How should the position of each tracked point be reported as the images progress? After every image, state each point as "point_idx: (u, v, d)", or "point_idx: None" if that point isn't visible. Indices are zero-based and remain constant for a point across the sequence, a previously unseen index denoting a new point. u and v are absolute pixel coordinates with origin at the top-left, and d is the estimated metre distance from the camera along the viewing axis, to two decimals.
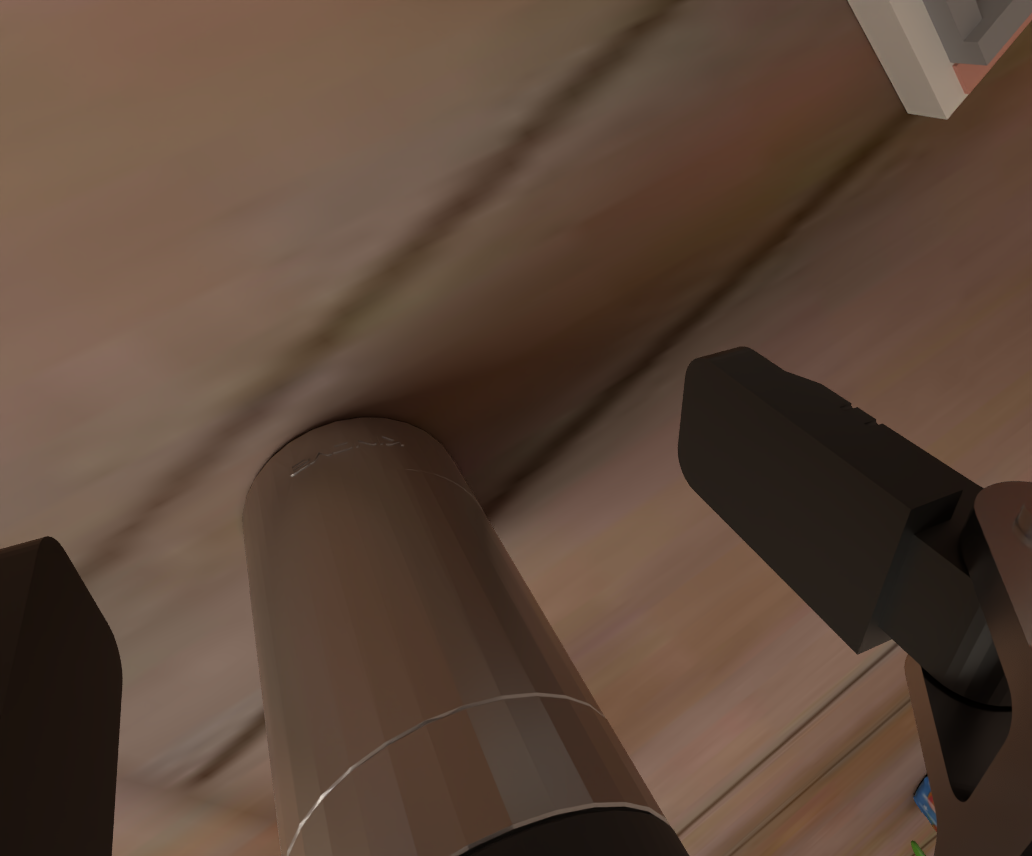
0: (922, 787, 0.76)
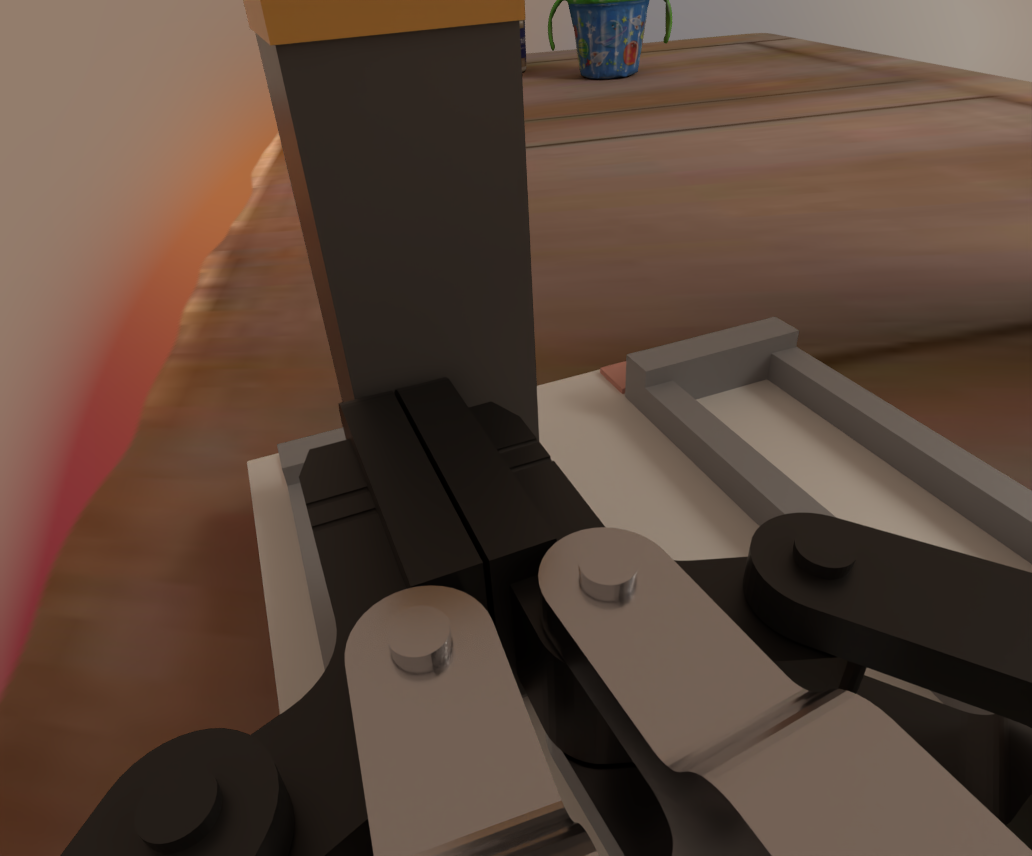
0: (631, 72, 0.89)
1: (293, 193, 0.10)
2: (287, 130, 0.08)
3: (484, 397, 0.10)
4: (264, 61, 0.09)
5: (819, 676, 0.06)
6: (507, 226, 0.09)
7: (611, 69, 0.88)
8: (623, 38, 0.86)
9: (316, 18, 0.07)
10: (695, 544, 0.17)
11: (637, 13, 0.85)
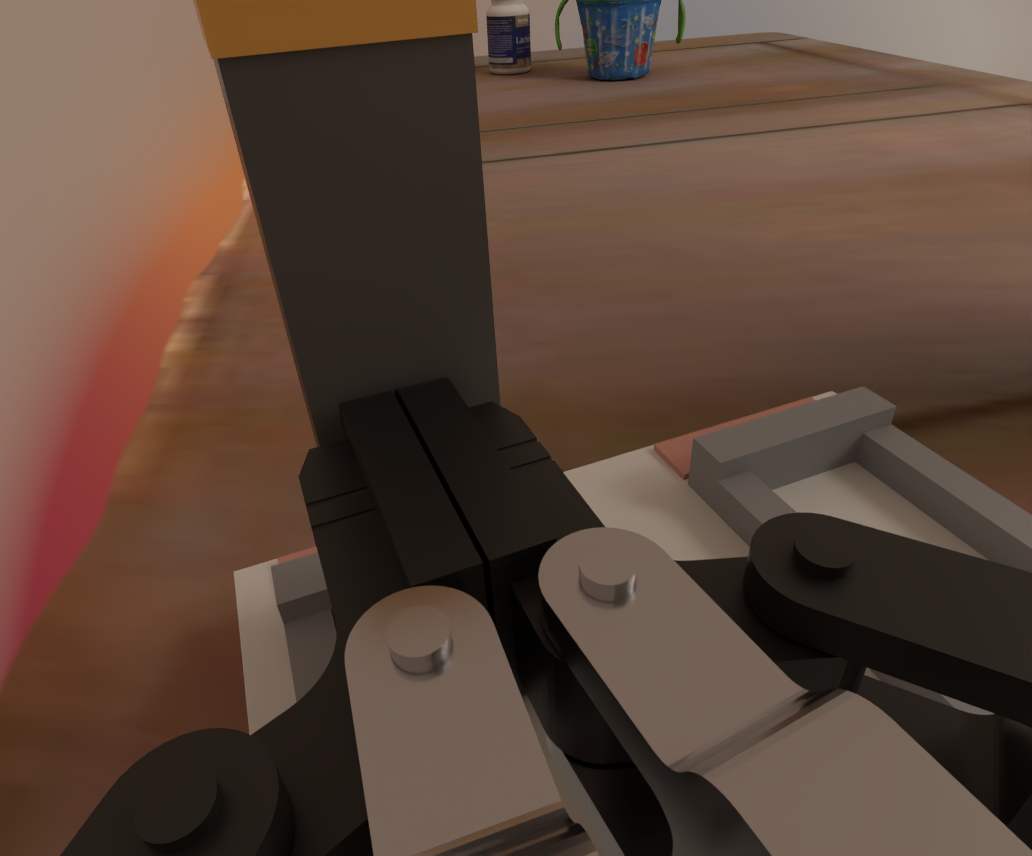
0: (641, 73, 0.85)
1: (252, 203, 0.10)
2: (237, 142, 0.08)
3: None
4: (217, 70, 0.09)
5: (819, 676, 0.06)
6: (465, 240, 0.09)
7: (621, 71, 0.84)
8: (635, 38, 0.82)
9: (259, 31, 0.07)
10: None
11: (649, 12, 0.81)
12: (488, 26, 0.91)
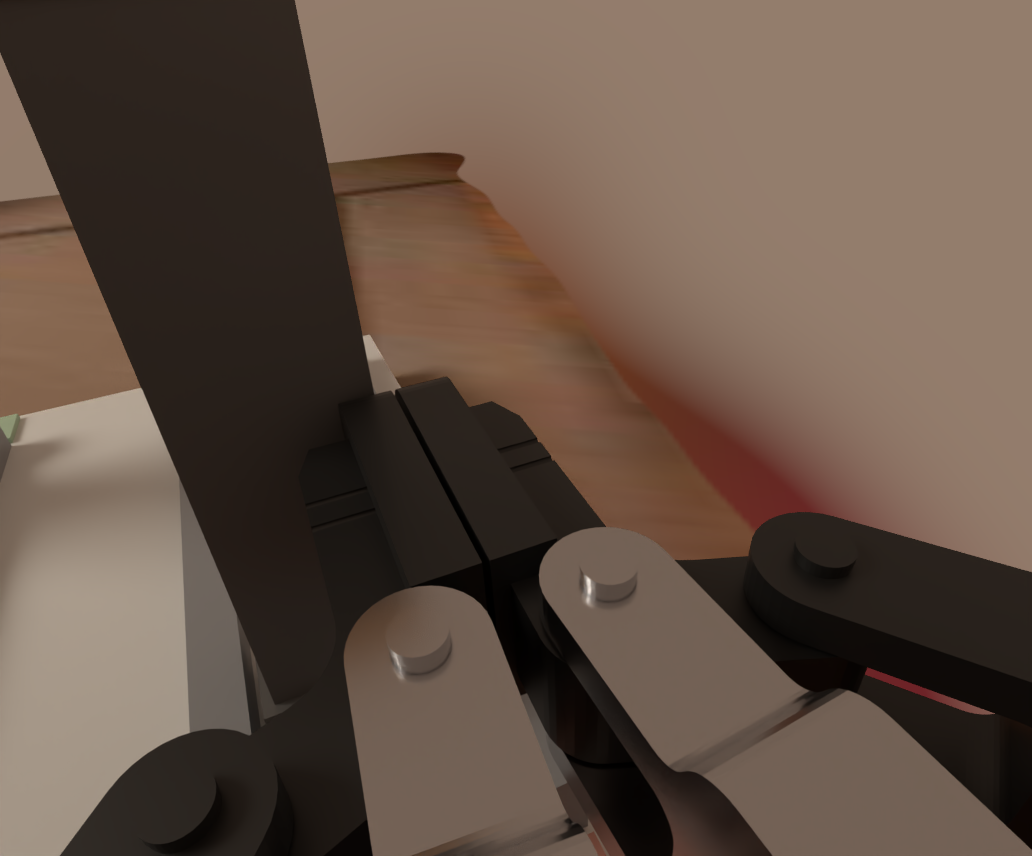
0: None
1: (333, 195, 0.08)
2: None
3: None
4: None
5: (820, 676, 0.06)
6: None
7: None
8: None
9: None
10: (23, 706, 0.14)
11: None
12: None
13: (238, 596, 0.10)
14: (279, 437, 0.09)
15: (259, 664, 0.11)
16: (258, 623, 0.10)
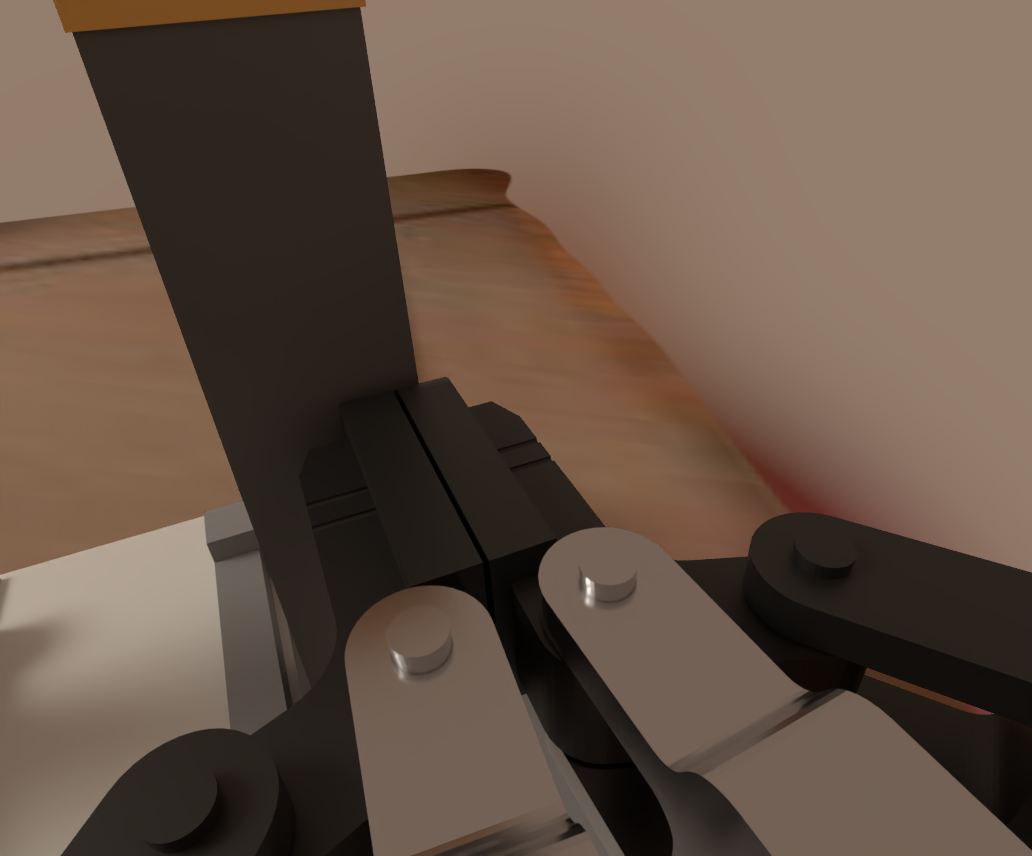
0: None
1: (391, 212, 0.08)
2: None
3: None
4: None
5: (819, 676, 0.06)
6: None
7: None
8: None
9: None
10: None
11: None
12: None
13: (285, 594, 0.10)
14: (330, 442, 0.09)
15: (302, 659, 0.11)
16: (303, 620, 0.11)
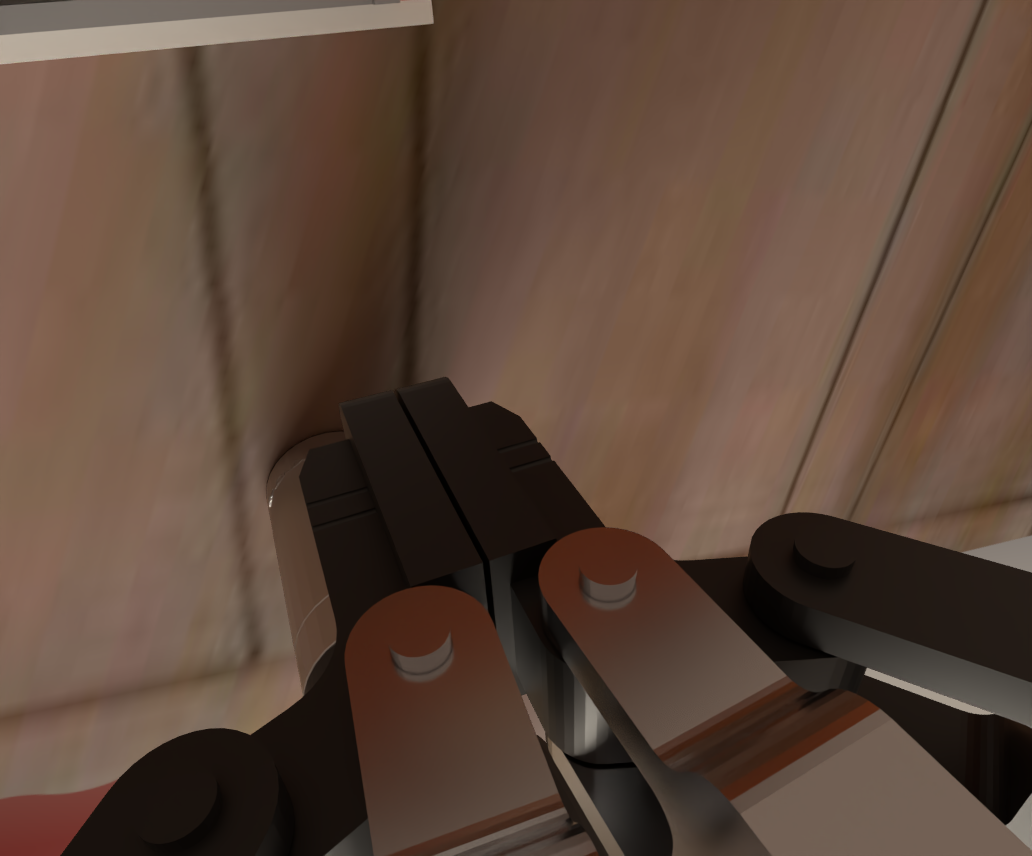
0: None
1: None
2: None
3: None
4: None
5: (819, 676, 0.06)
6: None
7: None
8: None
9: None
10: None
11: None
12: None
13: None
14: None
15: None
16: None
